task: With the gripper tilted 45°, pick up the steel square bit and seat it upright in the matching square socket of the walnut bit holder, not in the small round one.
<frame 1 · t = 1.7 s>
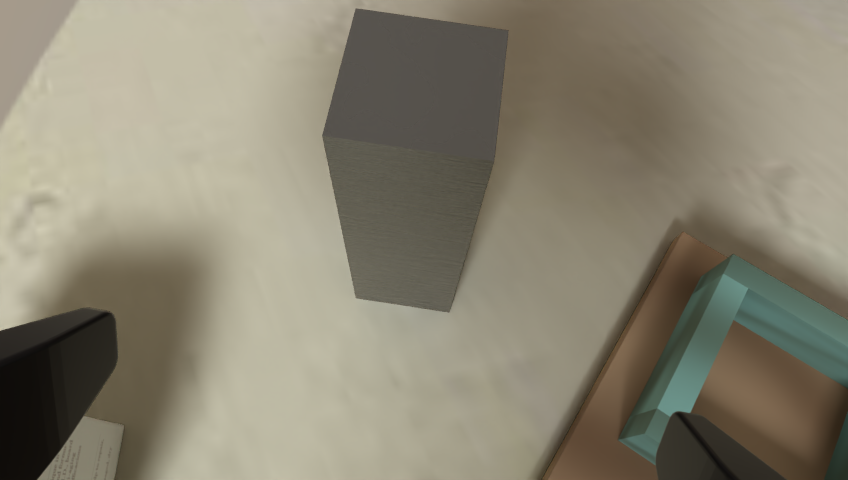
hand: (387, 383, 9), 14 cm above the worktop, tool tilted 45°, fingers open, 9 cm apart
square bit: (409, 261, 25), on the worktop
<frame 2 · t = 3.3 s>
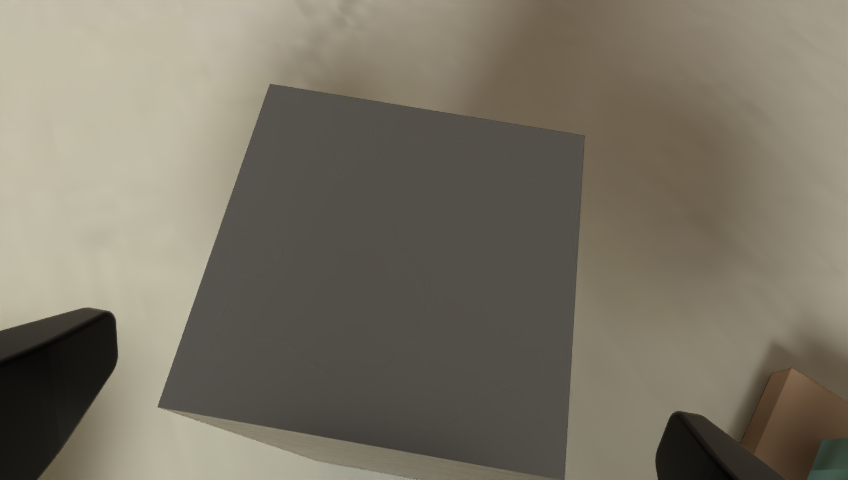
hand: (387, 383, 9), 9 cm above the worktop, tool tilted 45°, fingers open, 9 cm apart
square bit: (396, 403, 17), on the worktop
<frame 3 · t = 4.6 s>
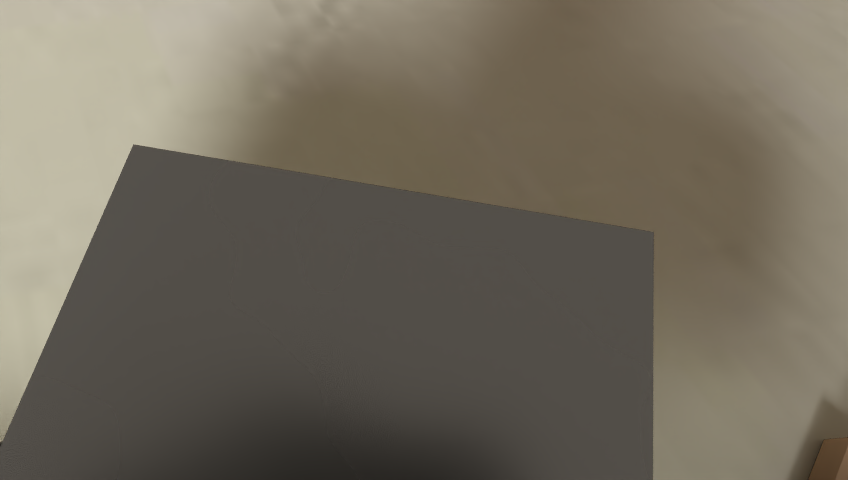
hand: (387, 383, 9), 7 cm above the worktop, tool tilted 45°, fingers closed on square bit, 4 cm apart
square bit: (381, 478, 14), on the worktop, touching gripper
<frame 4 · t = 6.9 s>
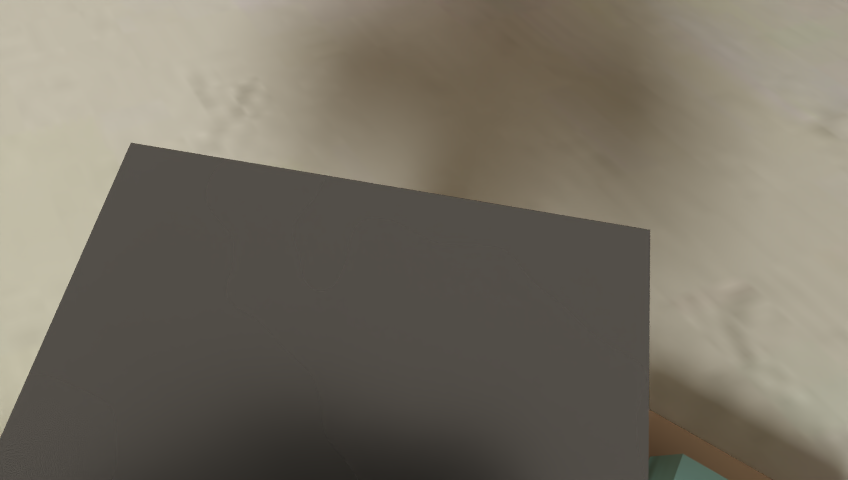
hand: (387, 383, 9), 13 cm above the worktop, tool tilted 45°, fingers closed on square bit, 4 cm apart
square bit: (380, 477, 14), point 6 cm above the worktop, touching gripper
when the fingers open (8 cm above the worktop, at t = 9.5 s): square bit stays where it is, resting on bit holder.
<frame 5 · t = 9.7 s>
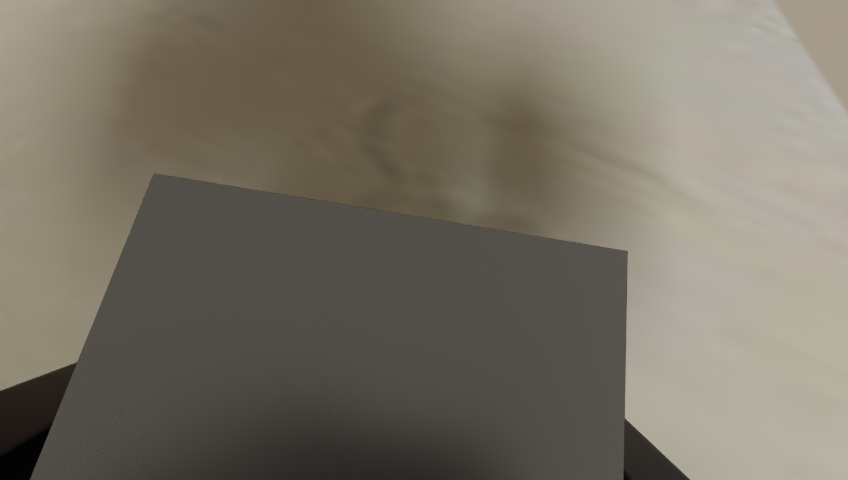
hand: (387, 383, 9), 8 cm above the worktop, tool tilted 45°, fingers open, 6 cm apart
square bit: (381, 476, 15), point 1 cm above the worktop, touching bit holder
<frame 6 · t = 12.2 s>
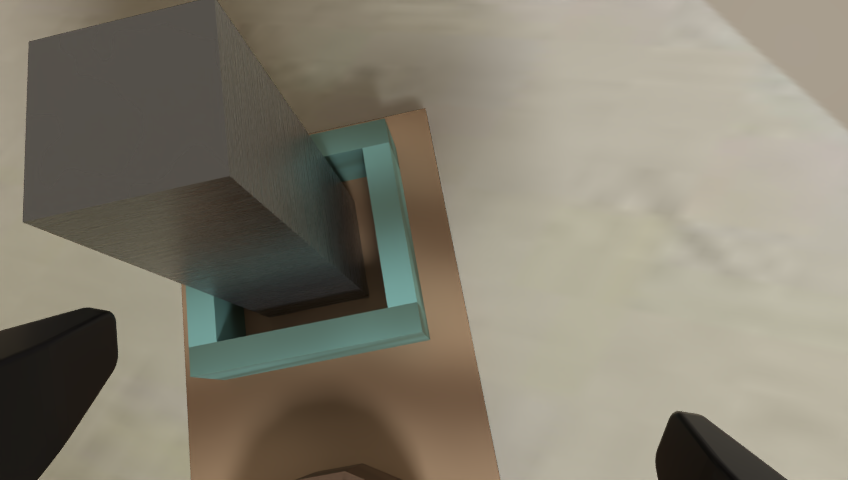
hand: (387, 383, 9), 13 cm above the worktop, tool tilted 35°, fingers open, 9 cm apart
bit holder: (338, 401, 22), on the worktop
square bit: (312, 258, 22), point 1 cm above the worktop, touching bit holder
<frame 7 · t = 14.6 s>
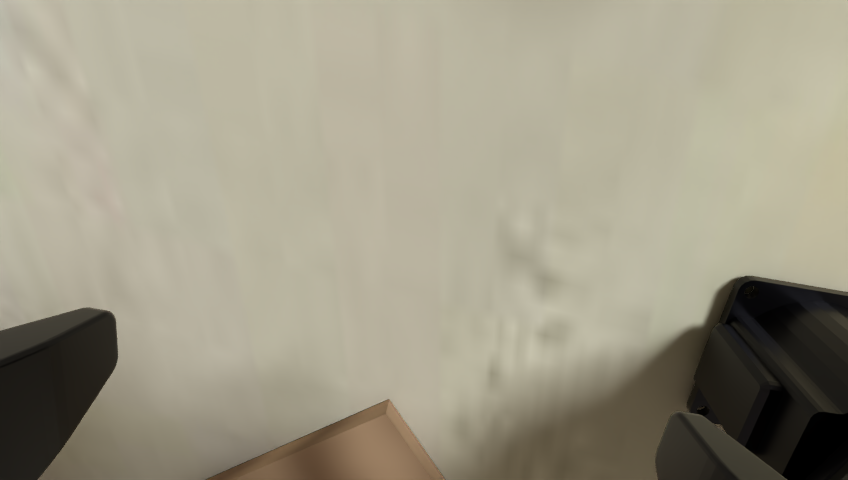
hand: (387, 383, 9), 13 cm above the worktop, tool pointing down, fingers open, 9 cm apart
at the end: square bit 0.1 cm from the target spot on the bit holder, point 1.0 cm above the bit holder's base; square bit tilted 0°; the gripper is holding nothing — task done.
